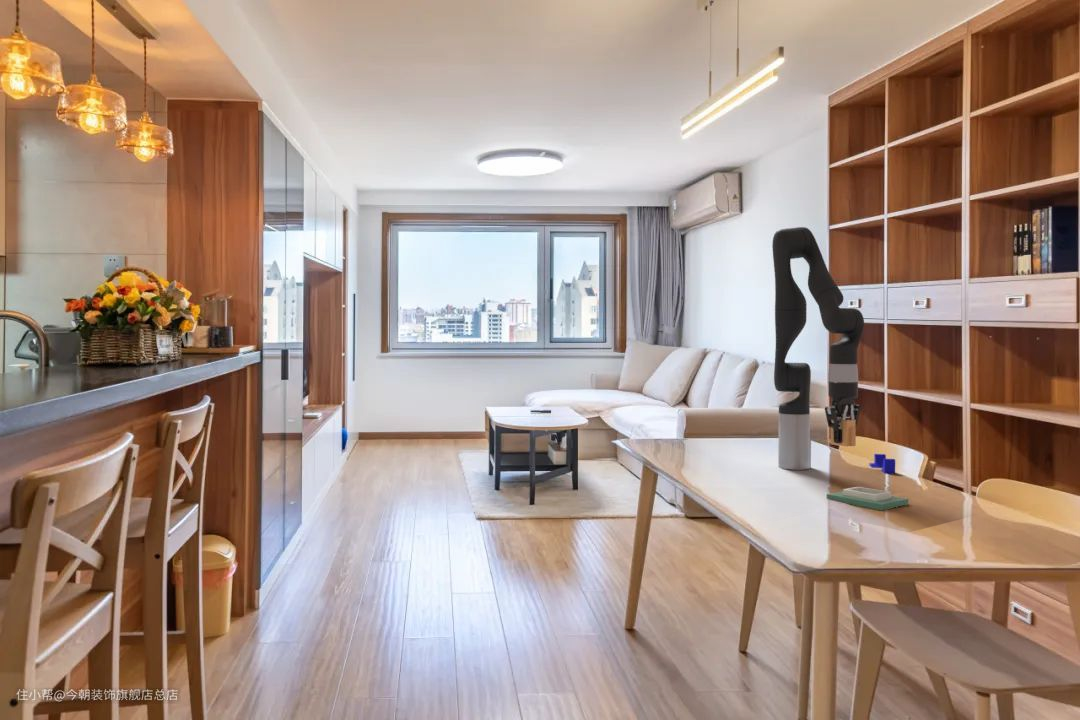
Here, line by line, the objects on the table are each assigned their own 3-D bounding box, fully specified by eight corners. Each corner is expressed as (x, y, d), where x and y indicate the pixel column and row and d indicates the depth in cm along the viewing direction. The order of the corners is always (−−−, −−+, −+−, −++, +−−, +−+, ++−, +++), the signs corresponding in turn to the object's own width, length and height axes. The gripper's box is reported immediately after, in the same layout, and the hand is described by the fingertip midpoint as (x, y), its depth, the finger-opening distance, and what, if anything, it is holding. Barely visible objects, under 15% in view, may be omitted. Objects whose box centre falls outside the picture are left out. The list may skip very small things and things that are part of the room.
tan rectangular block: (838, 443, 202) (838, 418, 201) (858, 445, 197) (858, 420, 197) (830, 444, 199) (830, 419, 199) (849, 446, 194) (849, 421, 194)
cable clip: (869, 472, 231) (869, 453, 231) (884, 472, 230) (884, 454, 230) (879, 478, 219) (879, 459, 219) (895, 479, 218) (895, 459, 218)
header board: (853, 494, 193) (853, 483, 193) (908, 504, 181) (908, 492, 181) (826, 499, 186) (826, 488, 186) (881, 510, 174) (881, 498, 174)
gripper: (845, 379, 205) (845, 438, 205) (815, 380, 197) (815, 442, 197) (870, 380, 199) (869, 441, 199) (840, 381, 191) (840, 446, 191)
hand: (842, 441), depth 198 cm, fingers closed on tan rectangular block, 4 cm apart
